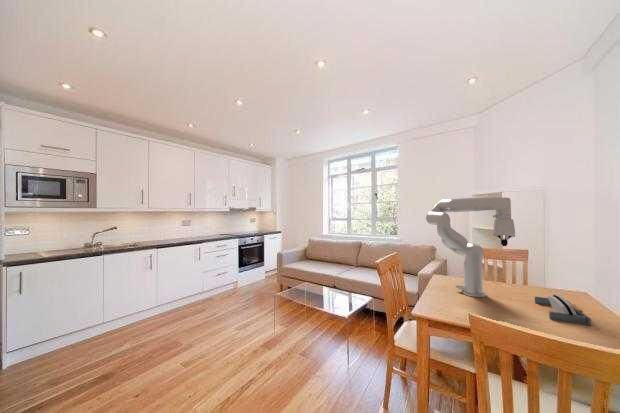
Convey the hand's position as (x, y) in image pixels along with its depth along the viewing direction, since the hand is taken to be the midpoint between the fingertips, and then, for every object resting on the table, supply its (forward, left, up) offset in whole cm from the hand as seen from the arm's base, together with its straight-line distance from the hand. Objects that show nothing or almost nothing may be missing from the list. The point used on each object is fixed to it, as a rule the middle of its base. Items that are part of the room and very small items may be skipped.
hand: (504, 245), depth 147 cm
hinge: (+18, -26, -30) cm, 43 cm away
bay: (+16, -24, -29) cm, 41 cm away
